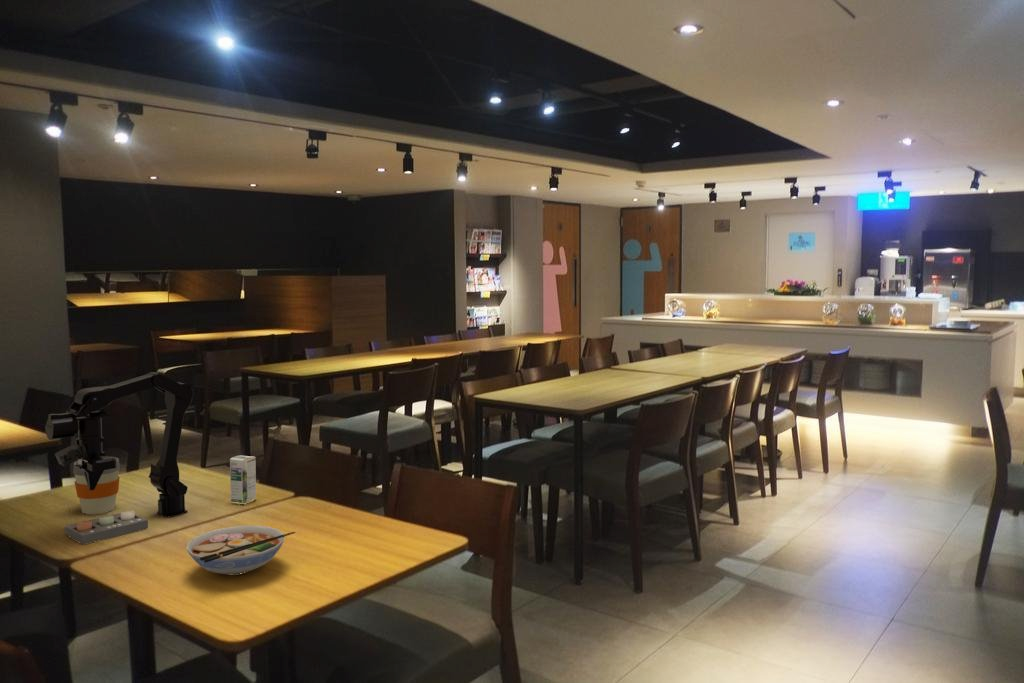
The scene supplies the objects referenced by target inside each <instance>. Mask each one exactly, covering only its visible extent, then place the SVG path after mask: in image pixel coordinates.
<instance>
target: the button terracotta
mask: <svg viewBox="0 0 1024 683" xmlns="http://www.w3.org/2000/svg"><path fill="white" fill-rule="evenodd" d="M76 523H77V531H78V532H82V531H86V530H90V529H92V521H88V520H81V521H79V522H76Z"/></svg>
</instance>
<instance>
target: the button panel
mask: <svg viewBox="0 0 1024 683" xmlns="http://www.w3.org/2000/svg"><path fill="white" fill-rule="evenodd" d="M121 513H122V512H119V513H118V512H117V513H115V514H110V515H109V516H114V524H111V525H107V526H102V527H101V526H99V518H100V517H97V518H92V519H88V520H87V521H92V529H90V530H86V531H82V532H78V531H77V523H78V522H75V523H71V524H67V525H66V524H65V525H64V535H65V534H66V535H65V536H67V535H68V536H70V537H71V538H70V537H69V538H70V539H72V538H73V539H72V540H74V539H75V540H77V541H79V542H80V543H79V542H78V543H79V544H81V543H82V544H81V545H83V544H85V545H87V544H86V543H89V544H91V543H90V542H93V543H95V542H94V541H97V542H99V541H98V540H101V541H104V540H103V539H105V540H108V539H112V538H115V537H116V538H117V537H119V536H123V535H124V536H125V535H128V534H133V533H135V531H136V532H139V530H140V531H143V529H144V530H147V528H148V529H149V523H148V519H147V518H144V517H143V516H140V515H137V514H136V513H135V519H132V520H127V521H121ZM68 536H67V537H68ZM107 538H108V539H107ZM75 540H74V541H75ZM77 541H76V542H77Z"/></svg>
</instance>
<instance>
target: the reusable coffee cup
mask: <svg viewBox="0 0 1024 683" xmlns="http://www.w3.org/2000/svg"><path fill="white" fill-rule="evenodd" d="M110 457H111V458H113V459H114V460H115V461H116V468H114V469H108V470H104V472H103V473H102V475H101V477H100V479H99V481H98V483H97V485H96V487H95V489H94V490H89V488H88V485H87V482H86V479H85V476H84V474H83V471H82V470H80V469H79V468H77V467H76V466H75V465H78V460H76V461H74V462H73V467H72V468H73V471H72V472H73V475H74V478H75V481H74V487H75V490H76V491H75V492H76V496H77V498H79V499H78V500H79V503H80V510H81V513H82V512H83V513H82V514H84V513H86V514H85V515H100V513H102V514H106V513H110V512H111V510H112V511H114V510H115V509H116V503H117V502H116V500H117V494H118V493H119V487H120V486H119V485H120V476H119V472H120V469H121V464H120V459H119V458H118V457H115V456H110ZM113 509H114V510H113ZM109 511H110V512H109ZM105 512H106V513H105Z"/></svg>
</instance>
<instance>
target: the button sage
mask: <svg viewBox="0 0 1024 683" xmlns="http://www.w3.org/2000/svg"><path fill="white" fill-rule="evenodd" d="M98 518H99V526H101V527H102V526H107V525H111V524H114V516H110V515H104V516H100V517H98Z"/></svg>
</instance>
